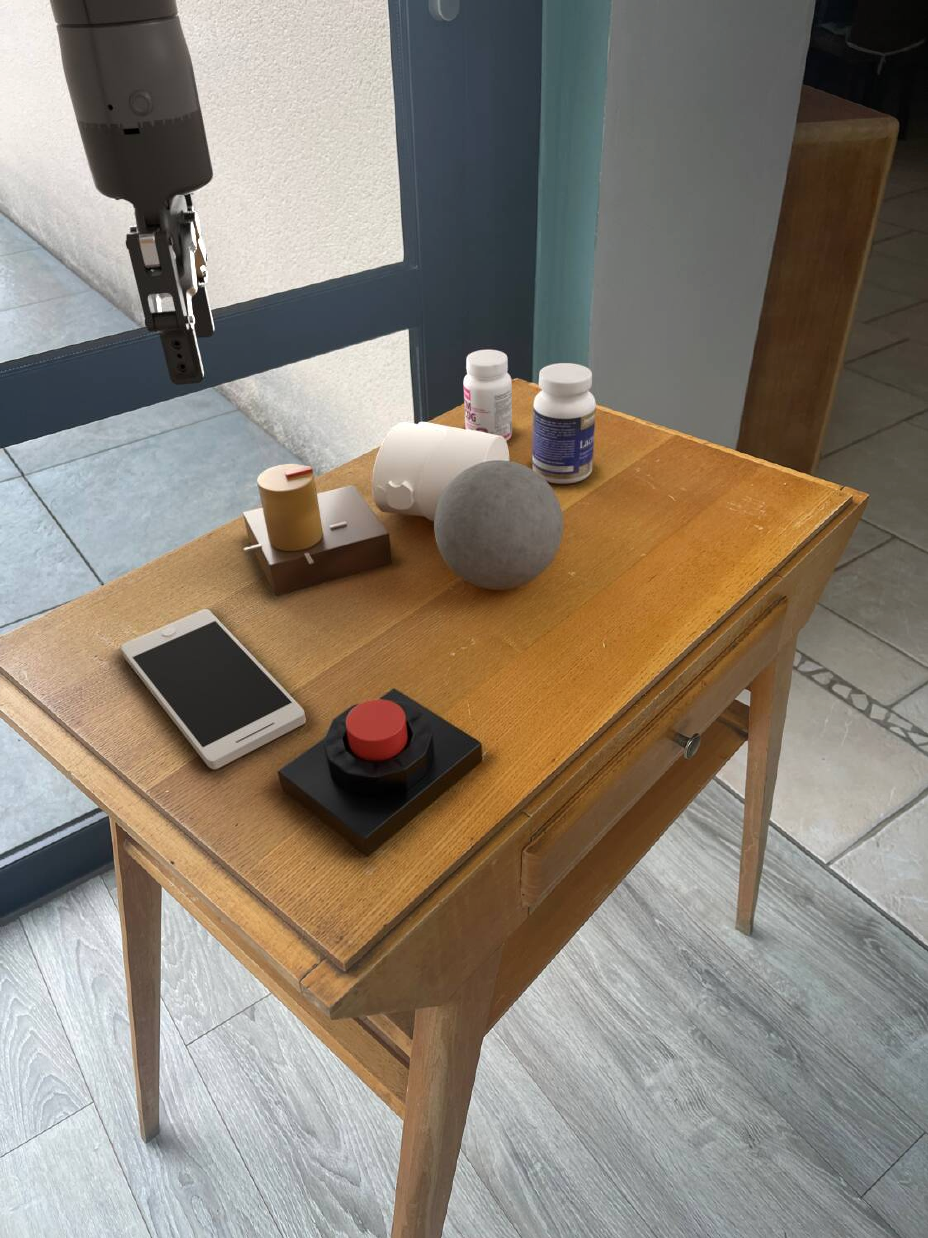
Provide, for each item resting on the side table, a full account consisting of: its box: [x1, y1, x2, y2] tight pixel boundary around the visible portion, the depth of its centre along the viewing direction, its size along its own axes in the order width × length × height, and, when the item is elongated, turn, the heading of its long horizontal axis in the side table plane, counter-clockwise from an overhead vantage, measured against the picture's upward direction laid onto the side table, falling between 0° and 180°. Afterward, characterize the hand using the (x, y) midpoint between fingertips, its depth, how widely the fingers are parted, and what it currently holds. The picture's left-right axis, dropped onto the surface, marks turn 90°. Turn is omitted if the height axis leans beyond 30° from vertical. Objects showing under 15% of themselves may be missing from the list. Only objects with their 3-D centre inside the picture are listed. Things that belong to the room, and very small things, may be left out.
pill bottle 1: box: [463, 349, 513, 442], centre depth 93 cm, size 5×5×8 cm
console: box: [242, 484, 393, 596], centre depth 78 cm, size 11×10×3 cm
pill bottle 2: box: [531, 362, 597, 485], centre depth 86 cm, size 6×6×10 cm
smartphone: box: [120, 608, 307, 771], centre depth 66 cm, size 7×15×1 cm, turn 38°
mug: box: [371, 421, 510, 522], centre depth 82 cm, size 12×9×8 cm
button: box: [346, 698, 408, 761], centre depth 57 cm, size 4×4×2 cm
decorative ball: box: [433, 460, 564, 591], centre depth 73 cm, size 10×10×10 cm
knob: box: [256, 463, 323, 551], centre depth 74 cm, size 4×4×6 cm
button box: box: [277, 687, 483, 858], centre depth 58 cm, size 10×8×4 cm
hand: (194, 357), depth 68 cm, fingers open, 8 cm apart
